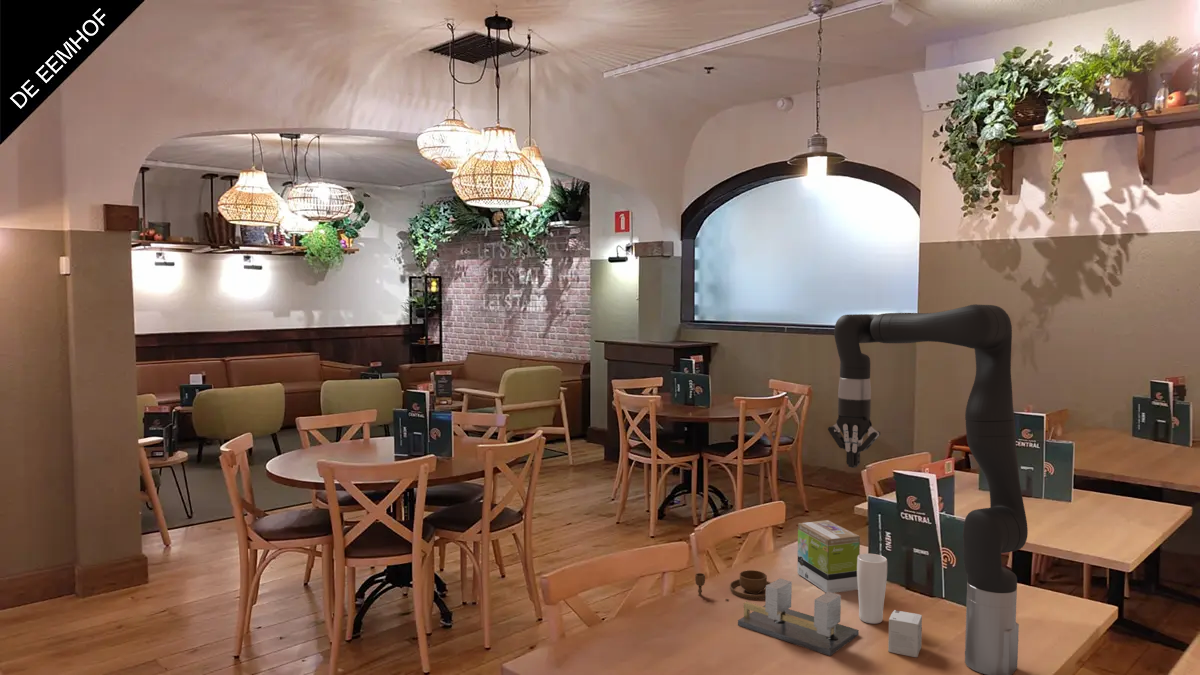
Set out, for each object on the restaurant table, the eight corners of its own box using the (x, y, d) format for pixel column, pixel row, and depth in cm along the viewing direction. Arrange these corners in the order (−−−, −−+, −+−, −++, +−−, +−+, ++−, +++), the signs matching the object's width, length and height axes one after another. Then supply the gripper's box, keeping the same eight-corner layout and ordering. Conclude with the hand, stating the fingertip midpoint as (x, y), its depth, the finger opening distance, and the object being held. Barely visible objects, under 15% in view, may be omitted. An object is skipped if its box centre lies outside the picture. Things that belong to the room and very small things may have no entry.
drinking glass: (887, 627, 184) (889, 563, 183) (857, 624, 185) (858, 561, 184) (883, 615, 190) (885, 554, 189) (854, 613, 192) (855, 552, 191)
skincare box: (917, 658, 168) (918, 624, 168) (887, 652, 171) (888, 618, 171) (921, 647, 173) (922, 614, 173) (892, 641, 176) (893, 609, 176)
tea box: (795, 574, 218) (796, 521, 217) (827, 571, 221) (828, 518, 220) (827, 594, 204) (828, 538, 203) (860, 590, 207) (861, 534, 206)
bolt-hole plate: (858, 635, 179) (858, 629, 179) (830, 655, 169) (830, 650, 169) (768, 607, 195) (769, 602, 195) (737, 625, 184) (737, 620, 184)
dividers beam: (839, 639, 174) (840, 595, 174) (826, 648, 170) (827, 603, 169) (753, 611, 189) (753, 571, 189) (738, 619, 185) (739, 578, 184)
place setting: (773, 608, 195) (773, 585, 195) (693, 599, 201) (693, 576, 201) (778, 584, 212) (779, 562, 212) (704, 576, 218) (704, 555, 218)
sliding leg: (791, 621, 183) (791, 581, 182) (776, 630, 178) (777, 589, 177) (779, 618, 185) (780, 578, 184) (765, 626, 180) (765, 585, 179)
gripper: (887, 397, 191) (885, 468, 192) (835, 392, 200) (834, 460, 201) (874, 400, 185) (872, 473, 186) (822, 395, 194) (820, 465, 195)
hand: (852, 466), depth 193 cm, fingers closed
